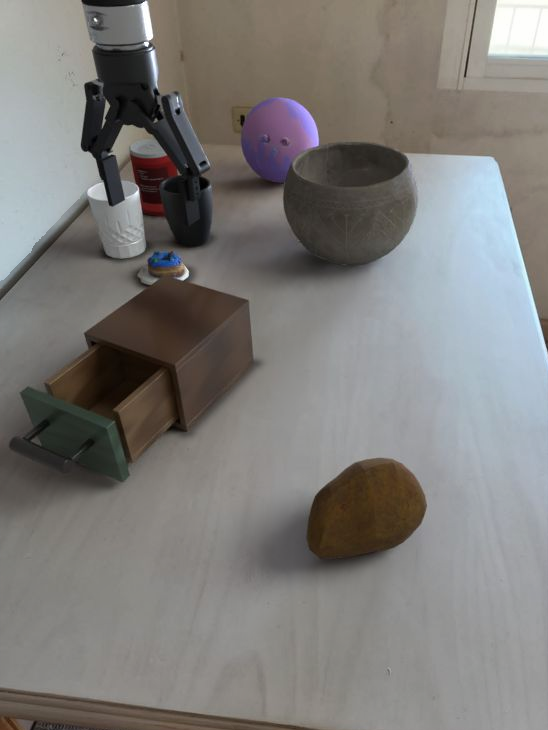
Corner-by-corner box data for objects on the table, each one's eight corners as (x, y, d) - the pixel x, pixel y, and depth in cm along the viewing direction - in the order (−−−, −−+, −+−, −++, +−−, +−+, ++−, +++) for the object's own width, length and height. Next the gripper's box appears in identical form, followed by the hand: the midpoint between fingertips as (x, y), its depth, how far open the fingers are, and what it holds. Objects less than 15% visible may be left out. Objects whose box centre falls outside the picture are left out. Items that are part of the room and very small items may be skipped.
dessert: (201, 268, 98) (178, 247, 93) (180, 304, 98) (157, 285, 93) (166, 257, 102) (143, 236, 97) (147, 291, 102) (122, 272, 96)
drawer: (92, 513, 62) (71, 459, 57) (8, 474, 66) (-18, 419, 61) (198, 407, 74) (190, 354, 69) (123, 379, 78) (109, 326, 72)
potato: (293, 509, 64) (291, 449, 58) (403, 489, 66) (412, 429, 60) (312, 579, 58) (312, 519, 52) (433, 553, 60) (446, 494, 54)
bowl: (266, 270, 100) (261, 175, 90) (310, 216, 114) (310, 129, 104) (394, 293, 95) (404, 196, 85) (423, 234, 109) (434, 145, 99)
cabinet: (187, 431, 72) (175, 365, 66) (102, 398, 76) (83, 332, 70) (253, 363, 82) (249, 299, 75) (175, 337, 86) (164, 274, 79)
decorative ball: (239, 194, 121) (232, 110, 111) (248, 165, 132) (243, 86, 122) (316, 196, 121) (317, 112, 111) (319, 166, 132) (320, 88, 122)
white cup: (114, 265, 100) (100, 205, 94) (93, 247, 105) (78, 188, 98) (158, 251, 104) (147, 191, 97) (136, 234, 108) (124, 176, 102)
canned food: (168, 195, 121) (159, 135, 113) (190, 209, 116) (182, 147, 109) (132, 205, 117) (120, 144, 109) (153, 220, 112) (142, 157, 105)
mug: (227, 221, 113) (221, 167, 106) (209, 252, 104) (203, 196, 97) (182, 217, 113) (174, 164, 107) (161, 248, 105) (151, 192, 98)
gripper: (24, 38, 78) (70, 204, 92) (187, 62, 69) (210, 241, 84) (67, 27, 83) (105, 186, 97) (225, 48, 74) (240, 219, 89)
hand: (153, 212), depth 91 cm, fingers open, 13 cm apart
